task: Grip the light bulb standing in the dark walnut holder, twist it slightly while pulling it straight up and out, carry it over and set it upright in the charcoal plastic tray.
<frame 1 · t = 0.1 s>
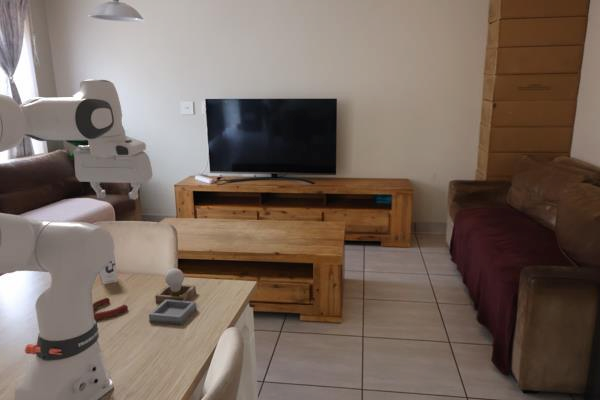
hand: (117, 198, 119), 39 cm above the table, tool pointing down, fingers open, 8 cm apart
tray: (173, 315, 138), on the table
light bulb: (176, 298, 150), resting in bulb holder
pliers: (90, 318, 139), on the table
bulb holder: (176, 297, 150), on the table
ink box: (108, 280, 166), on the table
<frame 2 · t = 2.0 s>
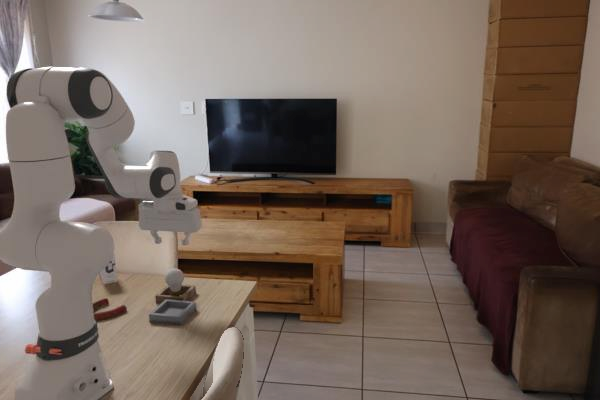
hand: (171, 243, 146), 18 cm above the table, tool pointing down, fingers open, 8 cm apart
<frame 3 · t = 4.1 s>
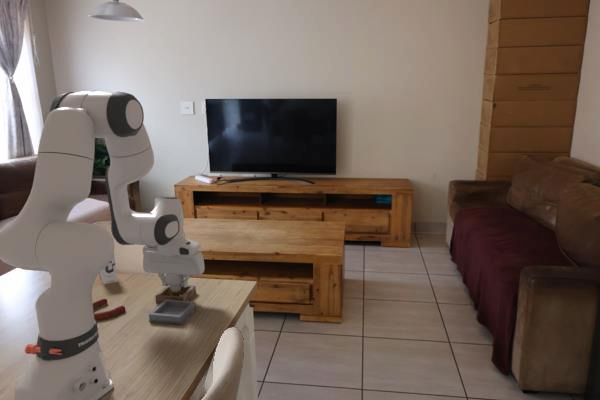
hand: (175, 286, 149), 4 cm above the table, tool pointing down, fingers closed on light bulb, 5 cm apart
light bulb: (176, 298, 150), resting in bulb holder, touching gripper
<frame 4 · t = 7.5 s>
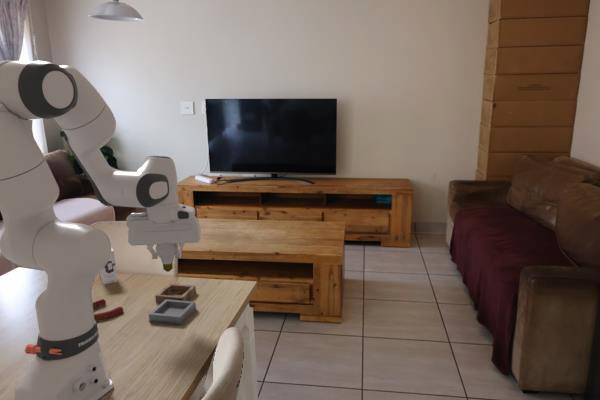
hand: (166, 257, 134), 18 cm above the table, tool pointing down, fingers closed on light bulb, 5 cm apart
light bulb: (168, 272, 135), point 14 cm above the table, touching gripper
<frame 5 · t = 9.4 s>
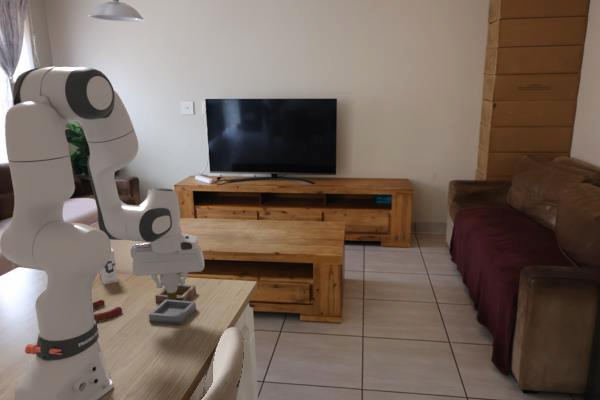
hand: (171, 286, 136), 9 cm above the table, tool pointing down, fingers closed on light bulb, 5 cm apart
light bulb: (172, 299, 137), point 5 cm above the table, touching gripper
when the fingers open (6 cm above the table, at t = 11.1 s): light bulb moves 1 cm, resting on tray.
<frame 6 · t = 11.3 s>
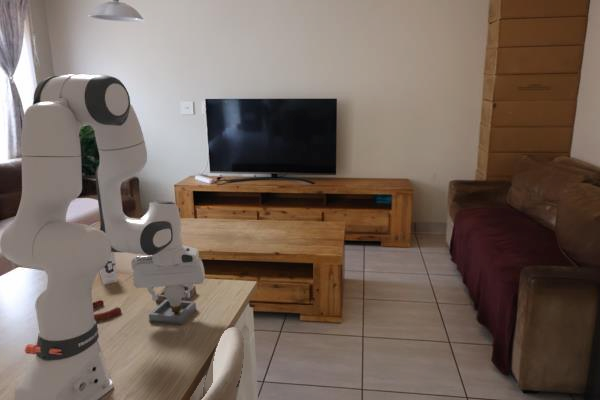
hand: (171, 298, 136), 6 cm above the table, tool pointing down, fingers open, 8 cm apart
light bulb: (176, 313, 137), point 1 cm above the table, touching gripper, tray
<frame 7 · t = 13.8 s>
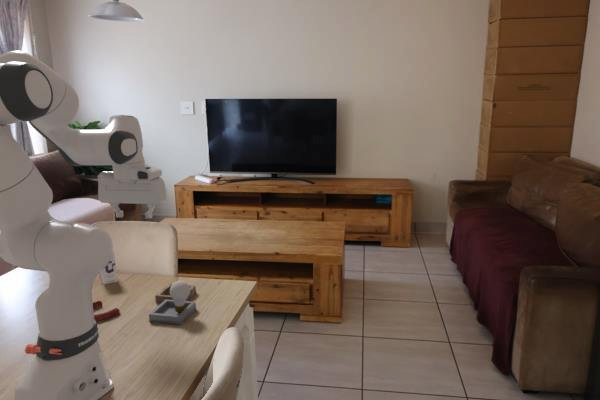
hand: (134, 217, 136), 29 cm above the table, tool pointing down, fingers open, 8 cm apart
light bulb: (179, 313, 137), point 1 cm above the table, touching tray
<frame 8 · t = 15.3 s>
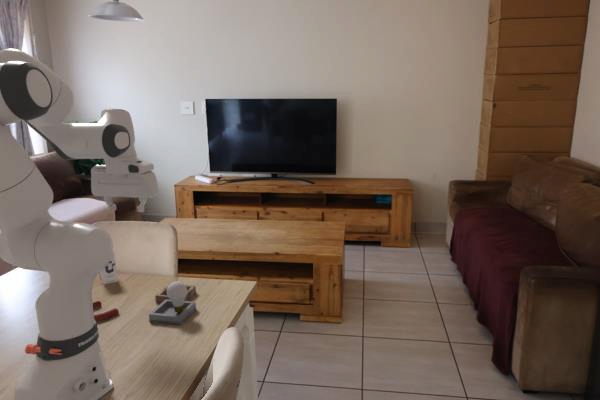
hand: (126, 211, 136), 31 cm above the table, tool pointing down, fingers open, 8 cm apart
at the end: light bulb 1.9 cm off-centre on the tray, point 0.6 cm above the tray's base; light bulb tilted 2° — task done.
